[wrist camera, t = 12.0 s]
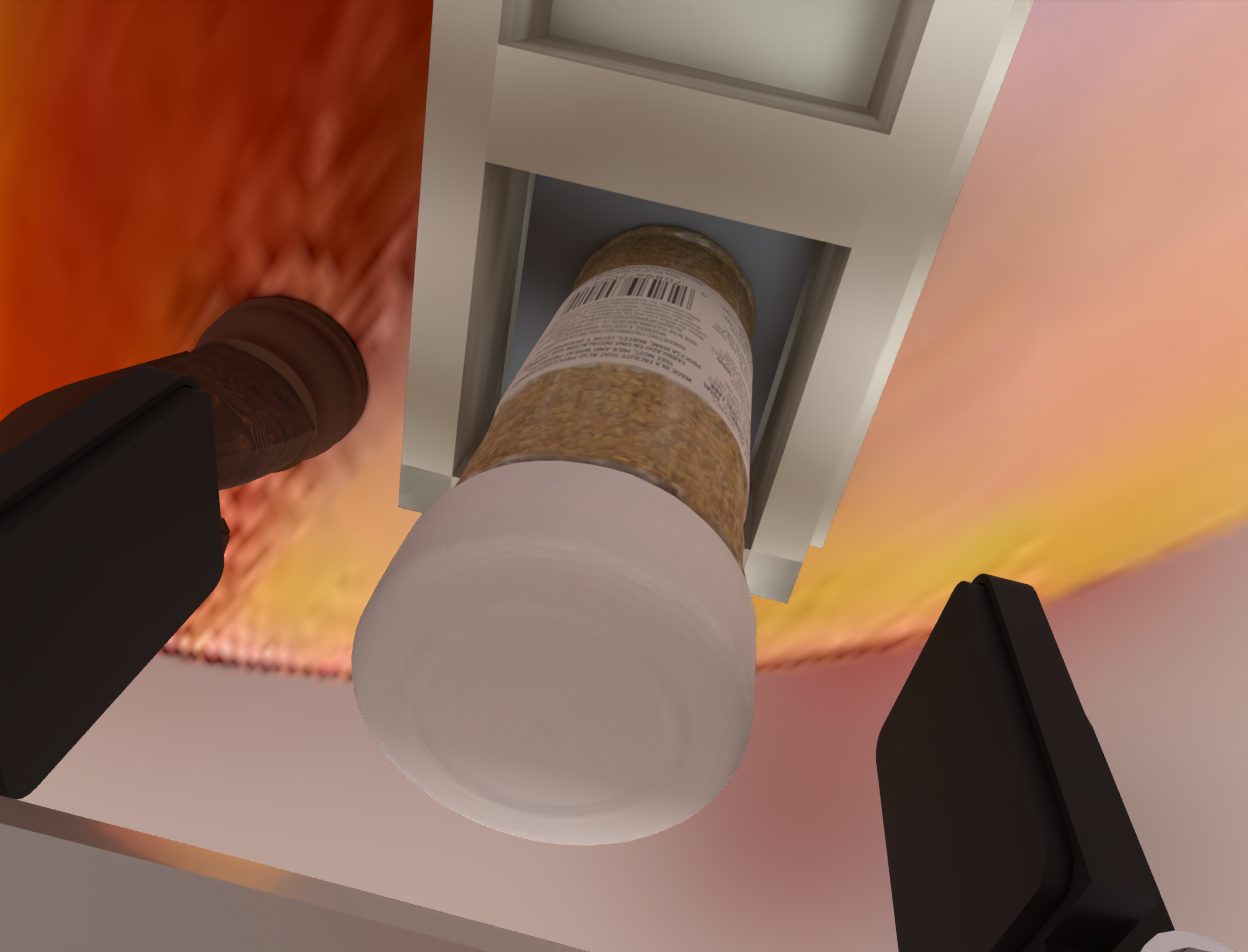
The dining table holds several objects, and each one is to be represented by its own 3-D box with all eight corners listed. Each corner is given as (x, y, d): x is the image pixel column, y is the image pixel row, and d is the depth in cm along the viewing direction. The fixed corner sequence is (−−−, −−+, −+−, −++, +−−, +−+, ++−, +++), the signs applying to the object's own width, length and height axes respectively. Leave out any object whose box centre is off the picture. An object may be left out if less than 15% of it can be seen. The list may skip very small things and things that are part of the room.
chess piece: (310, 470, 26) (86, 704, 18) (173, 351, 25) (-142, 541, 16) (400, 381, 24) (199, 596, 16) (257, 246, 23) (-50, 401, 14)
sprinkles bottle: (560, 376, 22) (332, 810, 10) (590, 198, 20) (339, 502, 8) (733, 418, 22) (697, 902, 10) (784, 243, 20) (811, 616, 8)
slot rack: (497, -576, 15) (385, -809, 10) (1185, -431, 14) (1362, -609, 10) (417, 429, 25) (344, 521, 21) (820, 528, 25) (831, 642, 20)
